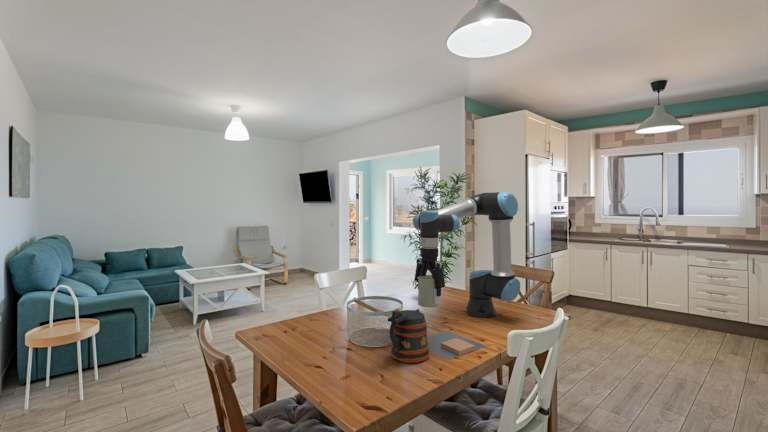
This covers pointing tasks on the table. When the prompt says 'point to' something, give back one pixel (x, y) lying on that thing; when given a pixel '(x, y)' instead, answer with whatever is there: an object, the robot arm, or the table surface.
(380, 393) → the table surface
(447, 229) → the robot arm
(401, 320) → the beer stein
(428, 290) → the can
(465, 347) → the tile
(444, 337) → the board
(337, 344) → the table surface
